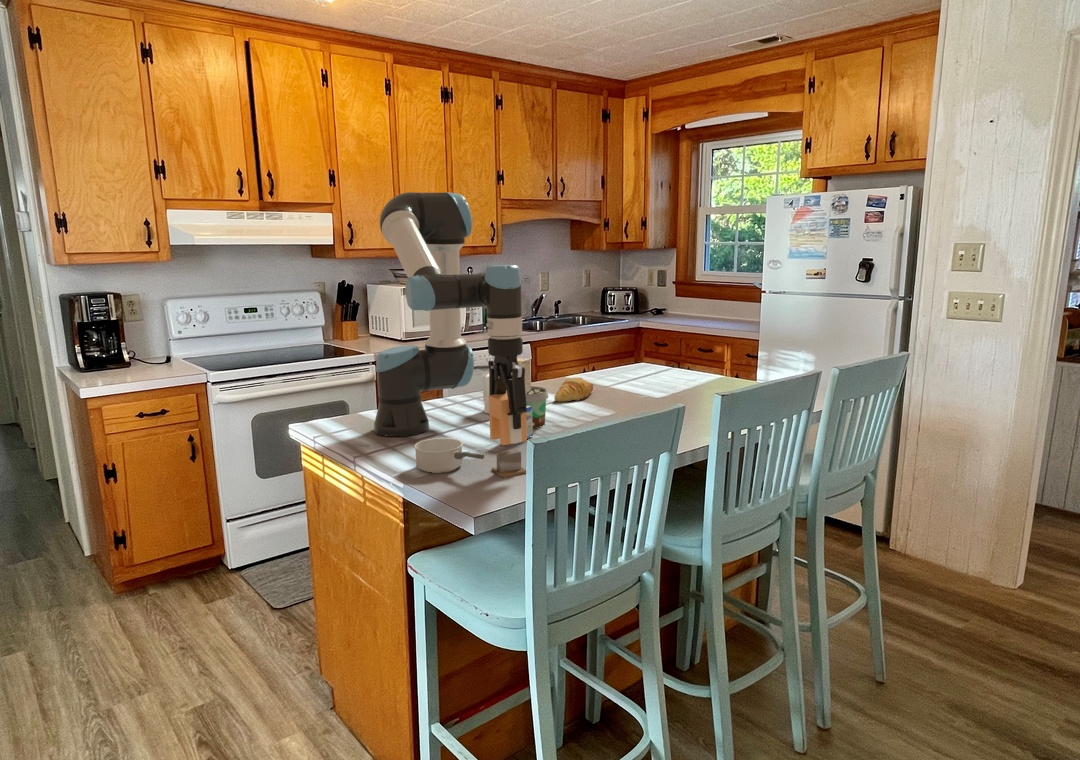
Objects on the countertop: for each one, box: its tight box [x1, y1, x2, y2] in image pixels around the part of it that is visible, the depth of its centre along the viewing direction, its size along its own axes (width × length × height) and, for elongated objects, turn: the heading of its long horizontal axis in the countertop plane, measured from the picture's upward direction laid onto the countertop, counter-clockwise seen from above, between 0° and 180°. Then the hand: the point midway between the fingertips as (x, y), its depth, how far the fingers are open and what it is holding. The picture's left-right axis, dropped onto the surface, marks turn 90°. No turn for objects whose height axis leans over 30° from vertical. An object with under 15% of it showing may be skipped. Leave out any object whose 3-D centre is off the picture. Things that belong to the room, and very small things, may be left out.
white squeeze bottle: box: [481, 356, 512, 415], centre depth 210 cm, size 10×9×20 cm
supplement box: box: [517, 357, 532, 394], centre depth 231 cm, size 8×5×13 cm, turn 49°
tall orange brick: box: [488, 393, 528, 446], centre depth 152 cm, size 6×6×10 cm
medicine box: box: [512, 406, 534, 446], centre depth 179 cm, size 8×4×9 cm, turn 148°
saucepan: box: [413, 437, 485, 474], centre depth 156 cm, size 12×20×6 cm, turn 50°
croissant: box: [554, 377, 594, 403], centre depth 229 cm, size 21×10×8 cm, turn 144°
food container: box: [526, 385, 549, 429], centre depth 194 cm, size 12×6×10 cm, turn 168°
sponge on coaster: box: [491, 448, 527, 479], centre depth 154 cm, size 6×6×5 cm
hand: (508, 438), depth 153 cm, fingers closed on tall orange brick, 6 cm apart
